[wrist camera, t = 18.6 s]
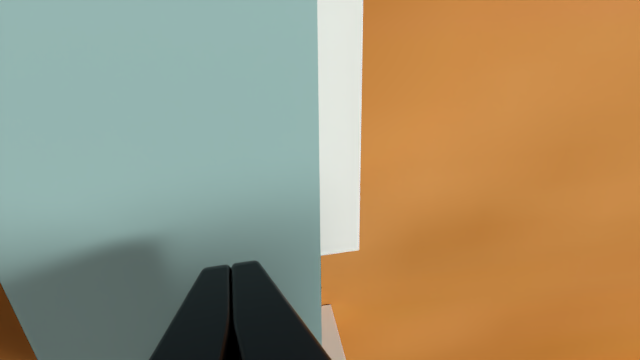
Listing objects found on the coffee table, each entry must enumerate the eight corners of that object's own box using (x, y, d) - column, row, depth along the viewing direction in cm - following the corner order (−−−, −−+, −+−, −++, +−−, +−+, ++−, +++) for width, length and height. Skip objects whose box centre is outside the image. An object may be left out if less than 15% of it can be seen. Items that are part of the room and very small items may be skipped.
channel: (331, 322, 19) (356, 418, 16) (130, 356, 18) (112, 465, 15) (315, -288, 10) (369, -371, 6) (-103, -292, 9) (-299, -392, 5)
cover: (367, 376, 14) (414, 529, 11) (94, 422, 13) (53, 610, 10) (414, -377, 6) (646, -659, 3) (-273, -421, 5) (-1164, -958, 2)
